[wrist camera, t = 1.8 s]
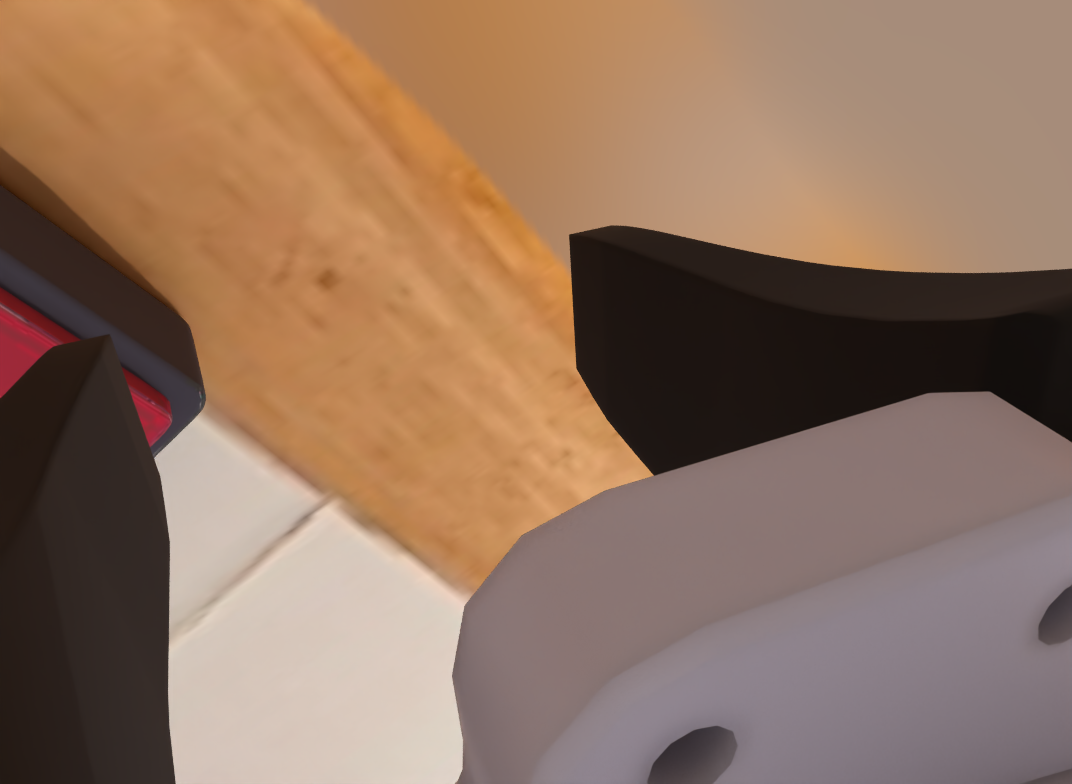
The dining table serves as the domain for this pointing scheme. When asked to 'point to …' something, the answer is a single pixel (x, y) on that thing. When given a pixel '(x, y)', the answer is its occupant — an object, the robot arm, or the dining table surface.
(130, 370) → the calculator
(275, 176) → the dining table surface
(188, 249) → the dining table surface
